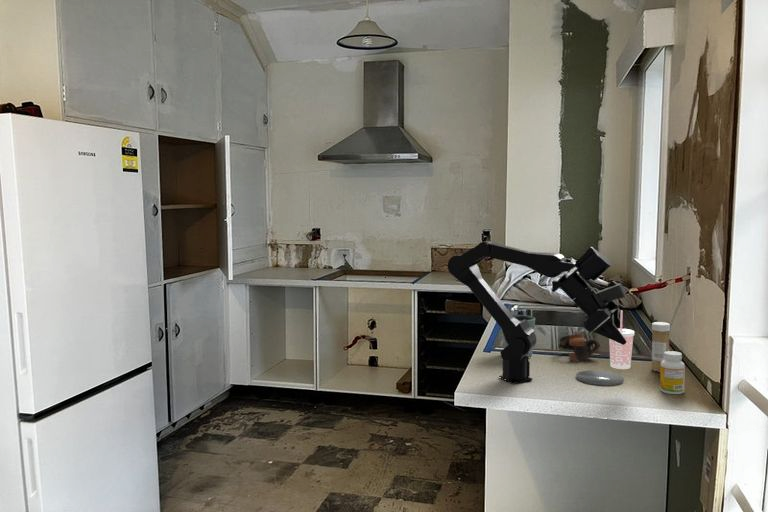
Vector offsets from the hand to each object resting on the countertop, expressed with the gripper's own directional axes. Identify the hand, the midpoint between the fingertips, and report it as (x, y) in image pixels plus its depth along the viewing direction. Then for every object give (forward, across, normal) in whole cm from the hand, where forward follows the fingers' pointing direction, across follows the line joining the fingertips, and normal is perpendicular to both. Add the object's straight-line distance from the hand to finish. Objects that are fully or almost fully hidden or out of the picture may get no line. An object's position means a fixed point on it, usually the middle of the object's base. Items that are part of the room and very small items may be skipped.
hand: (626, 340), depth 146 cm
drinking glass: (-14, +25, +34) cm, 44 cm away
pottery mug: (-2, +30, +22) cm, 37 cm away
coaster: (+4, +10, +15) cm, 18 cm away
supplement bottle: (+16, +7, +2) cm, 18 cm away
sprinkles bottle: (+14, +25, +5) cm, 29 cm away
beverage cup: (+4, 0, +6) cm, 7 cm away
